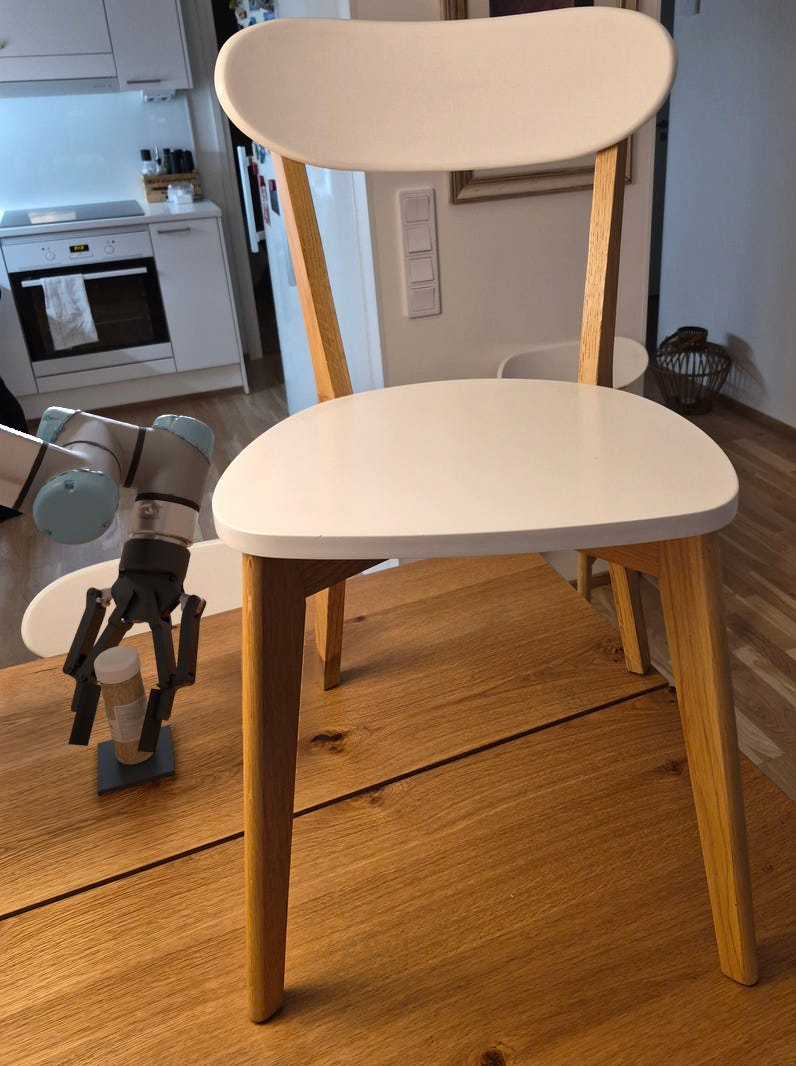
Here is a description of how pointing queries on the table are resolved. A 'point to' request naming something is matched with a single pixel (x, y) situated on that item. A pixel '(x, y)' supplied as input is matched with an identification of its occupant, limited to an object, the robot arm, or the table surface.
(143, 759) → the sprinkles bottle
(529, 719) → the table surface
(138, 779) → the mat
